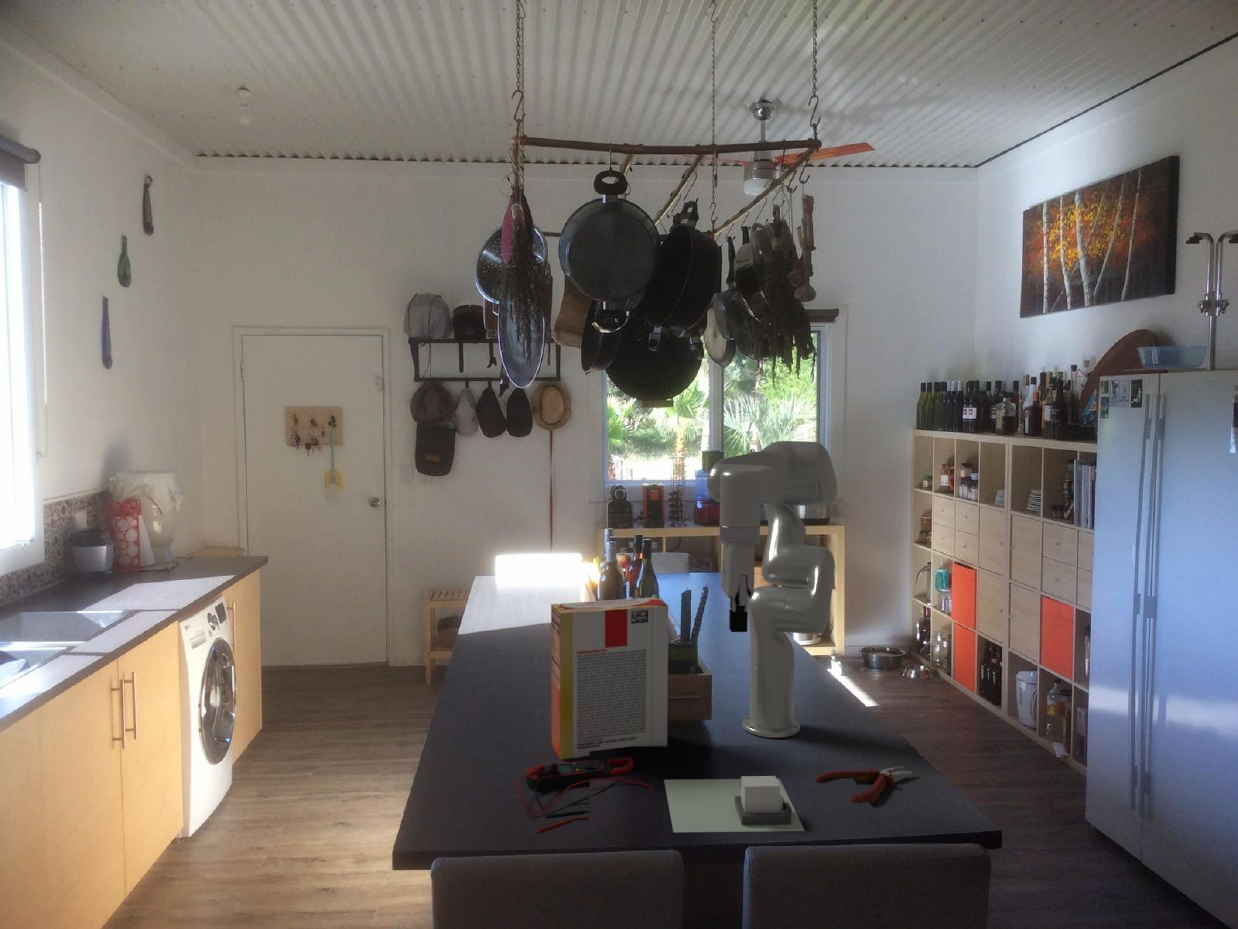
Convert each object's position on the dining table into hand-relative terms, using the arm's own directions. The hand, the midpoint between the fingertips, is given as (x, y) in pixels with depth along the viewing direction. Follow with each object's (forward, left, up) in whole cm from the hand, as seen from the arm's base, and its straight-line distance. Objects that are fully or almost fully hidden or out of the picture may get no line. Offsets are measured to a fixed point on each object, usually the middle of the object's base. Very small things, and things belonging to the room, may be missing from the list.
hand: (738, 630), depth 168 cm
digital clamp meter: (+6, -29, -30) cm, 42 cm away
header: (+16, +2, -28) cm, 32 cm away
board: (+12, -3, -29) cm, 32 cm away
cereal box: (-17, -24, -29) cm, 42 cm away
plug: (+16, +2, -28) cm, 32 cm away
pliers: (+5, +25, -30) cm, 39 cm away
